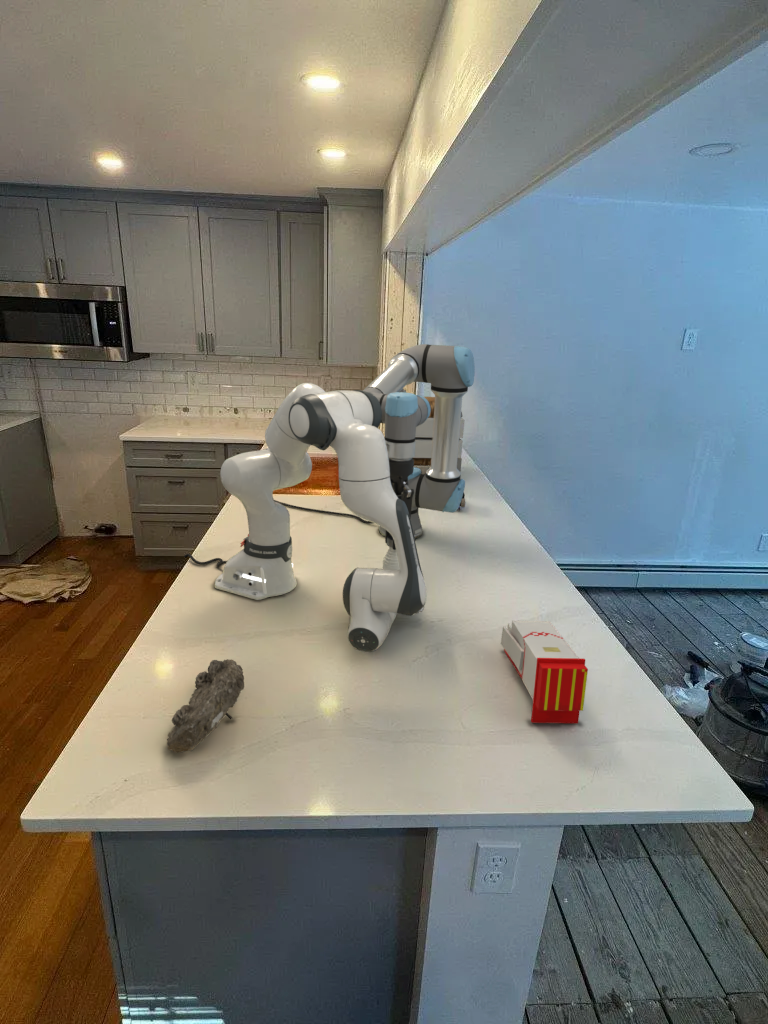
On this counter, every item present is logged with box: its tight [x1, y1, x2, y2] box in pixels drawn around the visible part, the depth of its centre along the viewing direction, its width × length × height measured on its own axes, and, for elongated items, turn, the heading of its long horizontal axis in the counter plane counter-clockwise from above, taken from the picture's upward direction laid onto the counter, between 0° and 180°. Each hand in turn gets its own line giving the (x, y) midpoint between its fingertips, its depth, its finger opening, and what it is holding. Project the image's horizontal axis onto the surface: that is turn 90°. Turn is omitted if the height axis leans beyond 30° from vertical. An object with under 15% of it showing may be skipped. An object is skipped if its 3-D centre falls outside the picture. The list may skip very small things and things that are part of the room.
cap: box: [386, 535, 393, 548], centre depth 146 cm, size 4×4×2 cm
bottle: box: [382, 546, 400, 570], centre depth 149 cm, size 5×5×19 cm
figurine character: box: [457, 492, 466, 511], centre depth 229 cm, size 7×8×15 cm
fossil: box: [166, 658, 245, 754], centre depth 106 cm, size 22×10×15 cm
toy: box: [500, 620, 589, 724], centre depth 121 cm, size 12×13×30 cm
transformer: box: [400, 388, 465, 474], centre depth 268 cm, size 34×33×41 cm
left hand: (392, 582), depth 151 cm, fingers closed on bottle, 5 cm apart
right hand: (394, 545), depth 147 cm, fingers closed on cap, 4 cm apart
